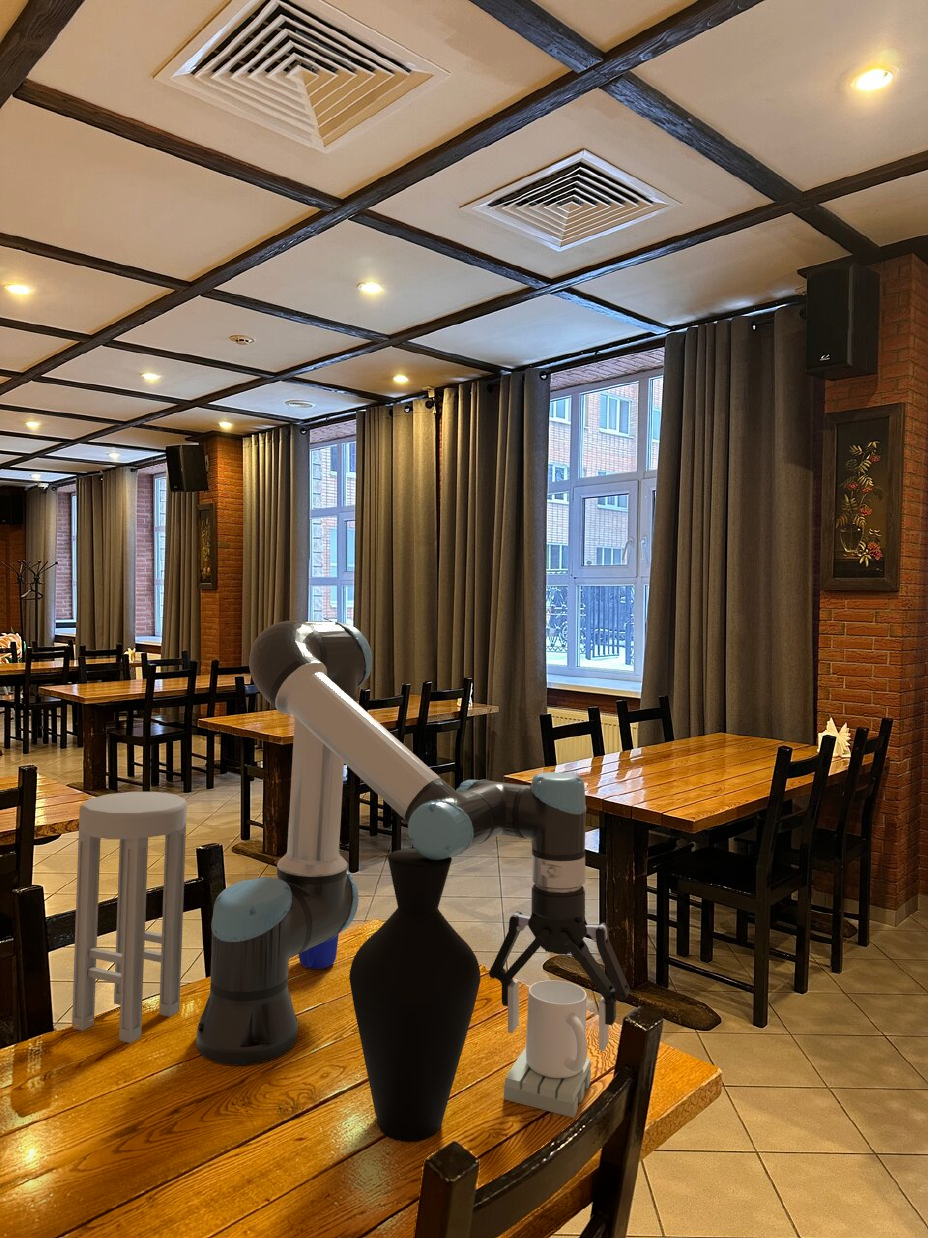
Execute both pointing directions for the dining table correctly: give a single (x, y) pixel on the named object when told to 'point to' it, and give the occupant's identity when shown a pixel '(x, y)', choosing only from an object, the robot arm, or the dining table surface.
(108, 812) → the stool
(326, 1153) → the dining table surface
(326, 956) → the mug
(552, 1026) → the mug
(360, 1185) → the dining table surface
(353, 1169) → the dining table surface
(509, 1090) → the block
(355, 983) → the vase
